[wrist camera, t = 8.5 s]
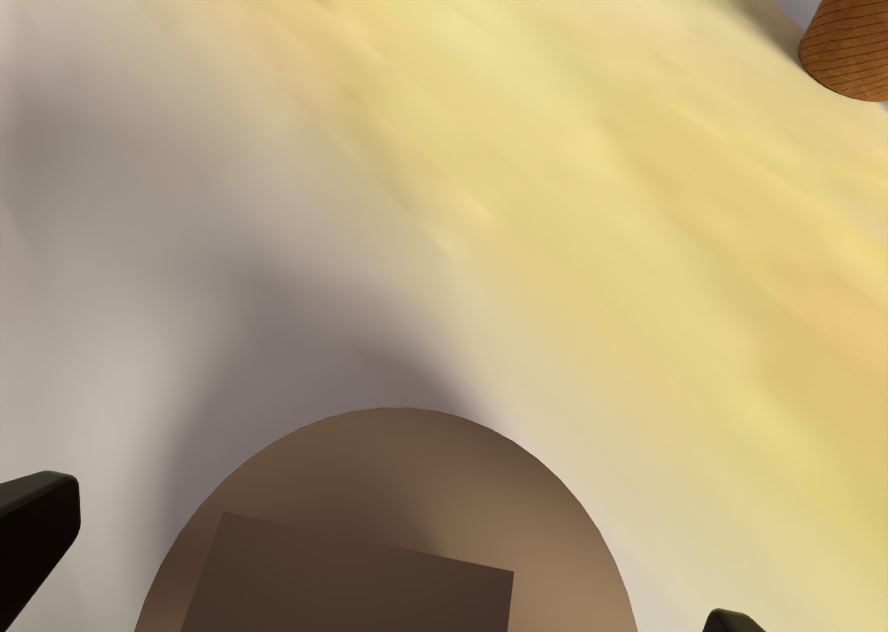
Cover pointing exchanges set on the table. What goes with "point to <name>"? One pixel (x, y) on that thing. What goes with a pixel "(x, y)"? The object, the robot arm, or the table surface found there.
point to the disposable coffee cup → (849, 48)
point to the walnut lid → (390, 538)
